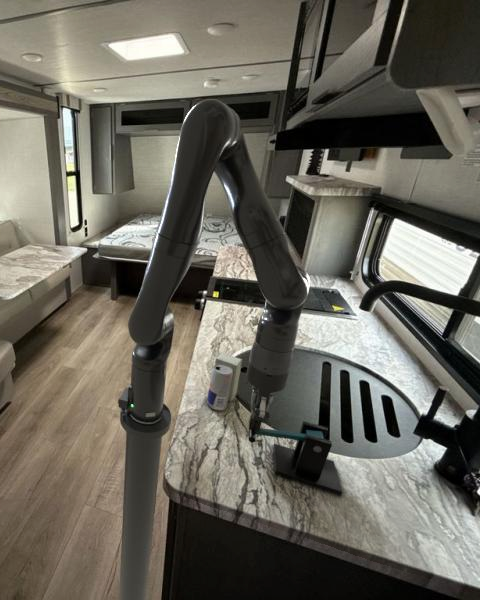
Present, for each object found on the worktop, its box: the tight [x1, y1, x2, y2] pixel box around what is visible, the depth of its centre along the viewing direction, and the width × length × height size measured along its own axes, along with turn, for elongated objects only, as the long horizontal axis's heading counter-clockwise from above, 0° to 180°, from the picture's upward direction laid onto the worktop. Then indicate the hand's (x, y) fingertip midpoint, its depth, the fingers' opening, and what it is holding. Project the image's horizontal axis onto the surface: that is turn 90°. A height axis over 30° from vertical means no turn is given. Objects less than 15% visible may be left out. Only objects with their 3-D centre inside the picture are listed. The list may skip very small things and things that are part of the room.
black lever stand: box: [272, 420, 343, 497], centre depth 66 cm, size 12×8×11 cm, turn 67°
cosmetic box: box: [214, 352, 243, 402], centre depth 89 cm, size 6×4×12 cm
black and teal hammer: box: [248, 419, 324, 443], centre depth 67 cm, size 14×6×2 cm, turn 67°
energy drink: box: [206, 363, 233, 411], centre depth 85 cm, size 5×5×12 cm
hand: (253, 428), depth 69 cm, fingers closed
